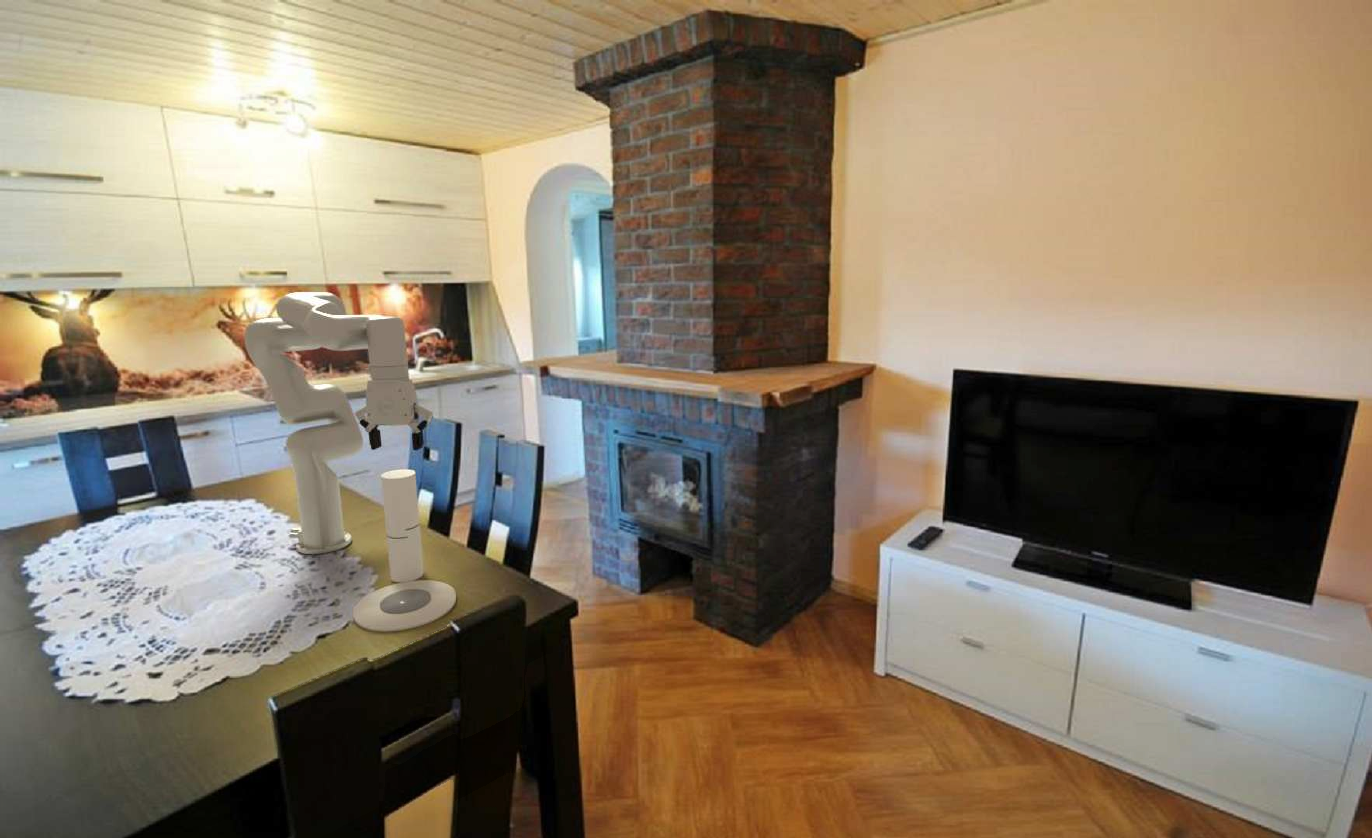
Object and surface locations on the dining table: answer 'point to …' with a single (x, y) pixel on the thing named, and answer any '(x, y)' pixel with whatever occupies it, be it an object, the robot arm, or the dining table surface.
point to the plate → (404, 605)
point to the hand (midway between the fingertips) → (397, 448)
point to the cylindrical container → (402, 525)
